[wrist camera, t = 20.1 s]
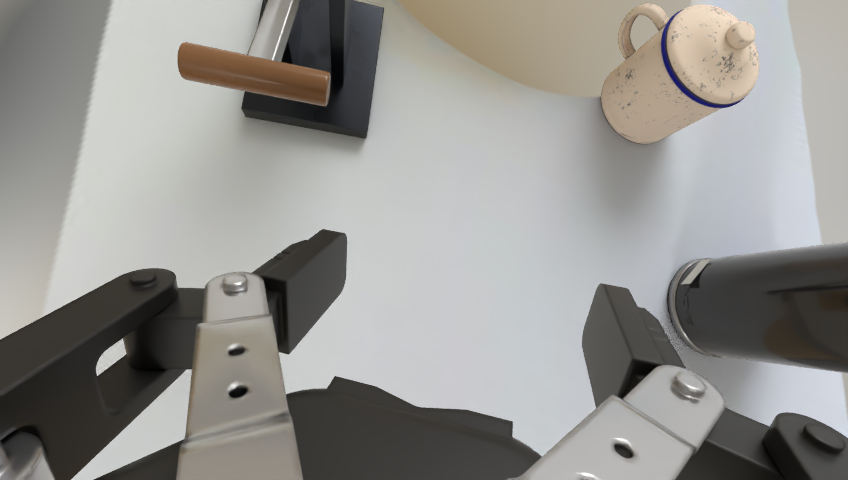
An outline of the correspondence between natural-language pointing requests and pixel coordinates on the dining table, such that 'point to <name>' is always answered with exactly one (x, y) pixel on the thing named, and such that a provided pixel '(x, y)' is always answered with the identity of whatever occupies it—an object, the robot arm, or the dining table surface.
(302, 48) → the bracket
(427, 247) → the dining table surface
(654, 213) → the dining table surface
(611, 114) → the teacup with lid
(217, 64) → the lever
